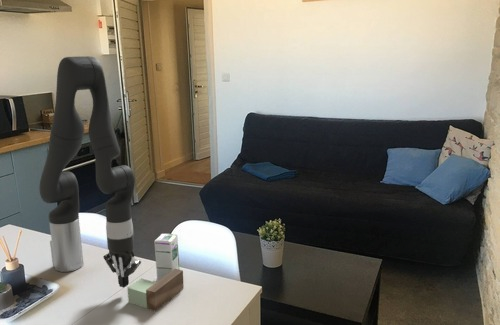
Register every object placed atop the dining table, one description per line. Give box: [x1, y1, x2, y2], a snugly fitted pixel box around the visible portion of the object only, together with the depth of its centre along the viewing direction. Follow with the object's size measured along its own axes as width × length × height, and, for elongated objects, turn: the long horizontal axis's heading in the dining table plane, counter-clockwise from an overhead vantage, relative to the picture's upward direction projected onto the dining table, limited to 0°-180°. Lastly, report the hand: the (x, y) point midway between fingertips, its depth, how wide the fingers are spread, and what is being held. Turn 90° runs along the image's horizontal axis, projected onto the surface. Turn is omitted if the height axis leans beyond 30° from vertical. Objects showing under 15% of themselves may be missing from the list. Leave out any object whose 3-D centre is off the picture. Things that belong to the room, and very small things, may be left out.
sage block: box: [126, 277, 157, 309], centre depth 127 cm, size 7×6×5 cm
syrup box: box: [153, 233, 181, 282], centre depth 138 cm, size 6×6×14 cm
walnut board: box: [146, 268, 185, 312], centre depth 128 cm, size 3×14×6 cm, turn 154°
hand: (123, 285), depth 130 cm, fingers closed
